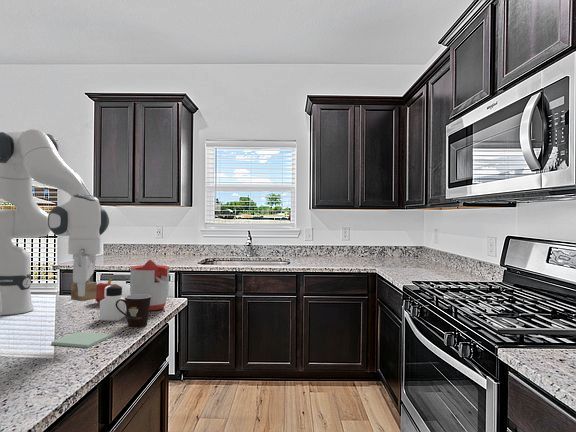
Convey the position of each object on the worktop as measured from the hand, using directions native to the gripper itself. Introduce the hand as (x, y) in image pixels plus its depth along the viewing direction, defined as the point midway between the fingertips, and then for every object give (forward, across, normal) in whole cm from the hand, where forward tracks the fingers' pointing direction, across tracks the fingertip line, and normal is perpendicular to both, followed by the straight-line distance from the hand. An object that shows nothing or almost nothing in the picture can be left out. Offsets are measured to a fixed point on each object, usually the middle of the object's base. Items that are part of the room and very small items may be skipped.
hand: (83, 293), depth 137 cm
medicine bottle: (+14, +28, -7) cm, 33 cm away
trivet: (+14, 0, 0) cm, 14 cm away
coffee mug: (+14, +17, -15) cm, 27 cm away
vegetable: (+14, +57, -3) cm, 59 cm away
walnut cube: (+2, 0, 0) cm, 2 cm away
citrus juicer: (+14, +42, -20) cm, 49 cm away
